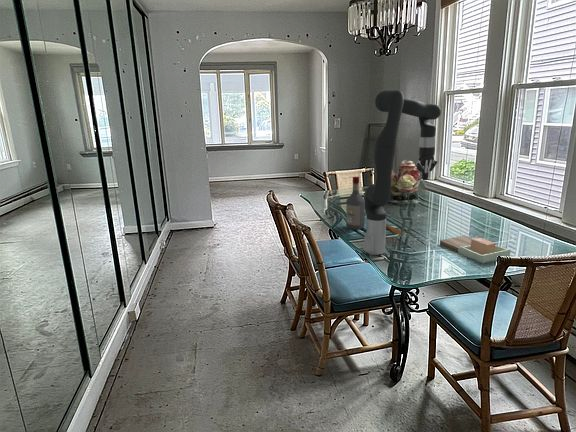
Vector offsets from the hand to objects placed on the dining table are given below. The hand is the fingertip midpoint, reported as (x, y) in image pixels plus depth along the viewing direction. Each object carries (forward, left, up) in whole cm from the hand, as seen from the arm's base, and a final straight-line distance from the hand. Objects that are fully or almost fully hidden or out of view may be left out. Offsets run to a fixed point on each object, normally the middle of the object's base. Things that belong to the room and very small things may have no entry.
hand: (424, 179), depth 196 cm
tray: (+8, -33, -31) cm, 46 cm away
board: (+8, -20, -31) cm, 38 cm away
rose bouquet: (+40, +69, -31) cm, 86 cm away
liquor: (-23, +30, -31) cm, 49 cm away
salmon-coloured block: (+8, -28, -27) cm, 40 cm away
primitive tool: (-7, +19, -32) cm, 37 cm away
